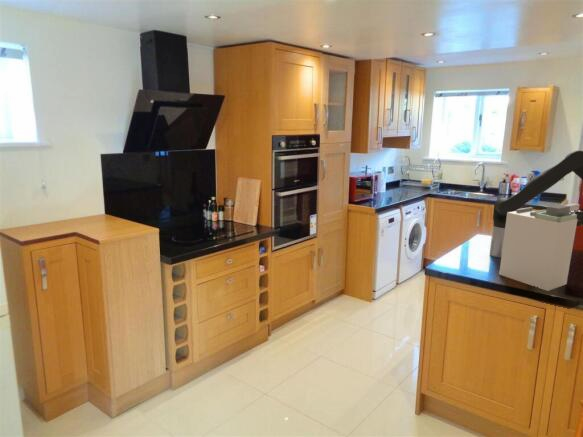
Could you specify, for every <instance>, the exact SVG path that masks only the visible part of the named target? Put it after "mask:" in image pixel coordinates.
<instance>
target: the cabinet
mask: <svg viewBox="0 0 583 437" xmlns="http://www.w3.org/2000/svg"><path fill="white" fill-rule="evenodd" d="M546 210H547V209H541V210H534V207H532V206H529V207H524V208H522V207H521V208H520V209H517V211H513V212H507V218H506V226H505V233H504V241H503V249H502V256H501V258H500V263H499V264H500V265H499V274H498V275H500V276H503V277H504V278H508V279H511V280H514V281H516V282H517V281H518V282H519V283H523V284H527V285H529V286H532V287H534V286H535V288H537V287H538V288H537V289H539V290H540V289H541V290H543V291H547V292H549V291H551V290H555V289H557V288H560V287H562V286H565V285H567V283H568V276H569V271H570V265H571V259H572V254H573V253H572V252H573V248H574V242H575V235H576V232H577V231H576V230H577V226H576V225H577V221H578V219H577V214H575V213H574V214H573V215H568V216H563V217H555V216H550V215H546Z"/></svg>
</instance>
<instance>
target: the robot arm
mask: <svg viewBox="0 0 583 437" xmlns="http://www.w3.org/2000/svg"><path fill="white" fill-rule="evenodd" d="M572 172H573V174H575V175H576V176H578V177H579V179H581V181H583V150H574V151H571V152H569V153H568V154H566V156H565V157H564V159H562V160H561V161H559V162H558V163H557V164H555V165H554V166H552V167H550V168H547V169H546V170H544V171H542V172H540V173H538V174H537V175H536V176H534V177H533V178H531V179H530V180H528V181H527V183H526V184H524V186H523V187H522V189H521V190H519V192H517V193H516V194H514V195H512V196H511V197H509V198H508V197H499V198H498V199H497V200H496V201H495V203H494V206H493V214H492V221H493V222H492V223H493V225H492V235H491V239H490V240H491V241H490V248H489V256H491V257H494V258H495V257H496V258H500V259H501V256H502V249H503V241H504V233H505V226H506V218H507V212H513V211H517V209H522V207H523V206H525V205H526V204H527V203H529V202H530V201H532V200H533V199H535V198H536V197H538V196H539V195H541V194H542V193H545V192H547V190H549V189H551V187H553V186H555V185H556V184H557V183H558V182H560V181H561V180H562V179H563V178H564V177H565V176H567V175H569V174H570V173H572ZM573 214H577V218H576V219H577V225H576V227H578V226H579V227H580V226H583V208H581V209H578V210H573V211H569V215H573Z"/></svg>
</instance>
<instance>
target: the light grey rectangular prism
mask: <svg viewBox="0 0 583 437" xmlns="http://www.w3.org/2000/svg"><path fill="white" fill-rule="evenodd" d="M580 205H581V204H579V203H576V202H575V203H568V204H554V205H553V204H552V205H549V206H546V209H545V210H546V215H550V216H555V217H563V216H568V215H569V214H570V213H569V211H573V210H580Z"/></svg>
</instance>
